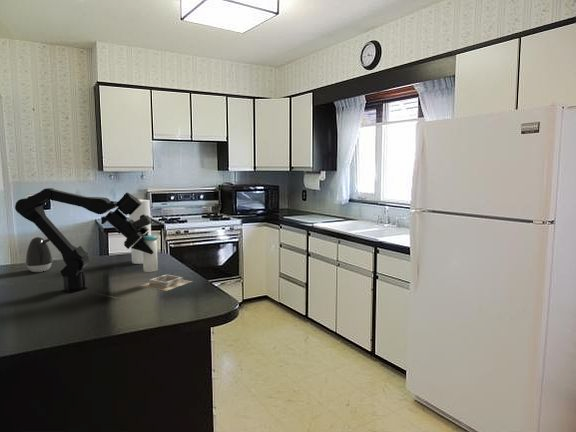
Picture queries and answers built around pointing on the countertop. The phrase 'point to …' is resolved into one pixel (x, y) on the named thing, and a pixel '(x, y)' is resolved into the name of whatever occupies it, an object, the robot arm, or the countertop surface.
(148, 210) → the cylinder container
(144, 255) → the white tall cylindrical piece
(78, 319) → the countertop surface
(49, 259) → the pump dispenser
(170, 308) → the countertop surface
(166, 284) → the housing
